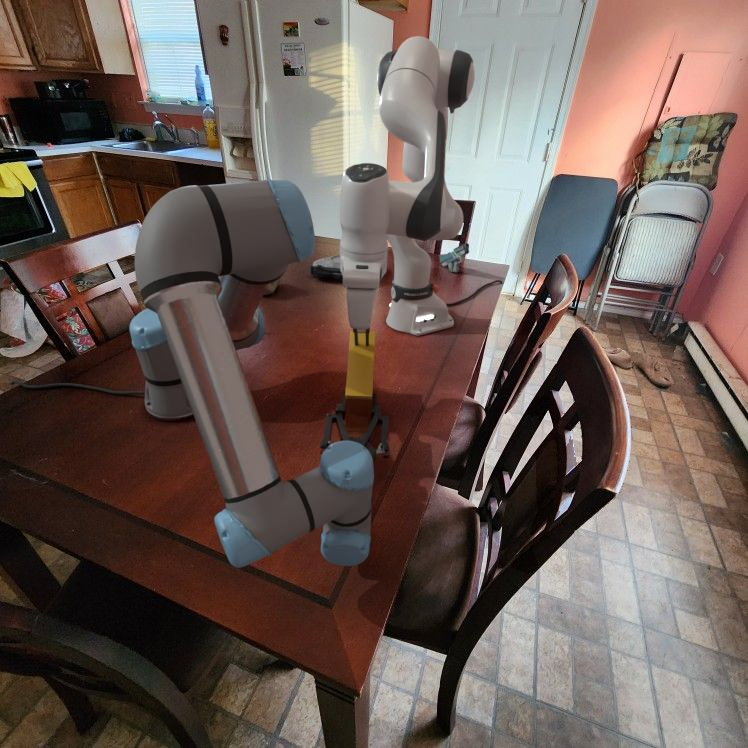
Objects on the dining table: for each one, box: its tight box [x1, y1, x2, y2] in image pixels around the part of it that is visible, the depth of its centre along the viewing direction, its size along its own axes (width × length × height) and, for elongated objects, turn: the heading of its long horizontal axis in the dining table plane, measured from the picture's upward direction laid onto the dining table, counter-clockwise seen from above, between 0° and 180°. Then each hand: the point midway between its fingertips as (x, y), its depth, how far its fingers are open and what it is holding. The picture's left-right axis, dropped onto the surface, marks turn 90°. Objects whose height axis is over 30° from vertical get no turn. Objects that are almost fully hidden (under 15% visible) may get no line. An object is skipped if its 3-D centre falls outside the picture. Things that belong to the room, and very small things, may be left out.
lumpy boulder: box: [263, 277, 281, 296], centre depth 151 cm, size 11×11×15 cm
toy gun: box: [439, 243, 470, 273], centre depth 173 cm, size 4×19×10 cm
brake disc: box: [310, 254, 343, 282], centre depth 171 cm, size 32×30×5 cm
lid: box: [345, 326, 376, 398], centre depth 87 cm, size 16×6×9 cm
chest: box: [345, 368, 375, 433], centre depth 96 cm, size 15×6×9 cm, turn 178°
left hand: (359, 397), depth 93 cm, fingers closed on chest, 6 cm apart
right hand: (362, 327), depth 85 cm, fingers closed, pressing on lid
